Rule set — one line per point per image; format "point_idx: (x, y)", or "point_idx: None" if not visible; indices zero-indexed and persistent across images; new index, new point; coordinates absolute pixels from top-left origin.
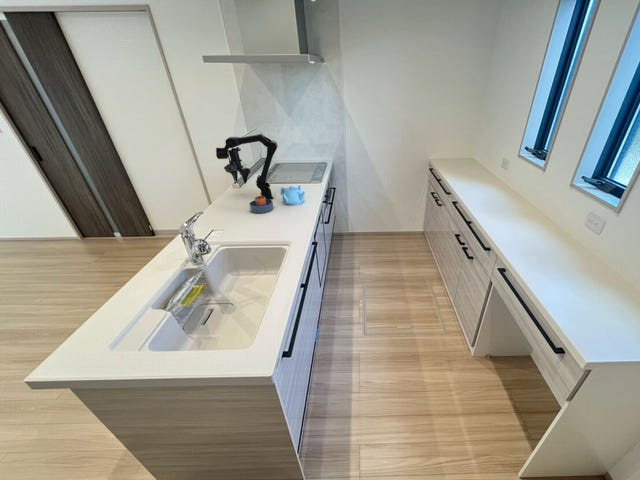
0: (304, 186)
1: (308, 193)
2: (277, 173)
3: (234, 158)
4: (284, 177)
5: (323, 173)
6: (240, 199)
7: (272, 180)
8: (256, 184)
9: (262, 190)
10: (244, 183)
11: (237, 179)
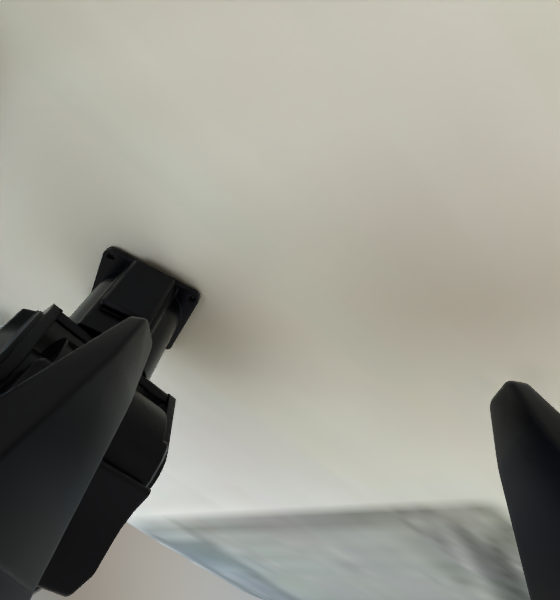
0: (159, 496)
1: None
2: (472, 597)
3: None
4: (385, 567)
5: (241, 587)
6: (407, 165)
7: (427, 542)
8: (26, 375)
9: (30, 318)
10: (144, 319)
11: (497, 452)
